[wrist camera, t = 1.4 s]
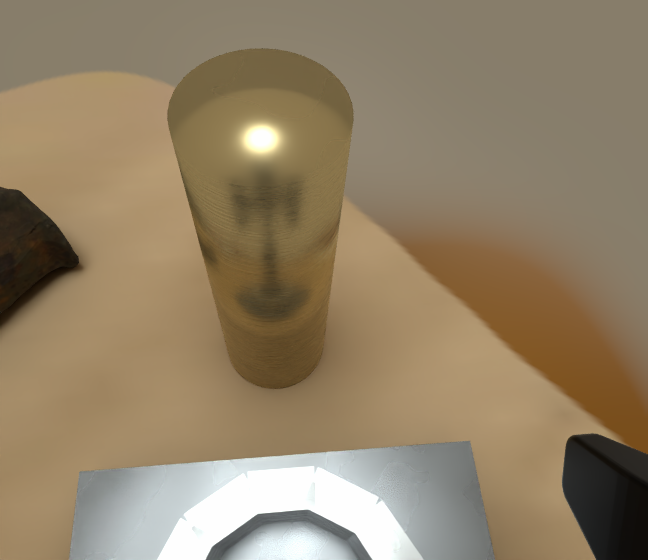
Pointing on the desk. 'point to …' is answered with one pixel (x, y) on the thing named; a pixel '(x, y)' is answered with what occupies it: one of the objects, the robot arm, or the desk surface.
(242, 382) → the desk surface
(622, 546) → the robot arm
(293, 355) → the brass hinge pin
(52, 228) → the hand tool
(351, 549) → the plate with ring collar
